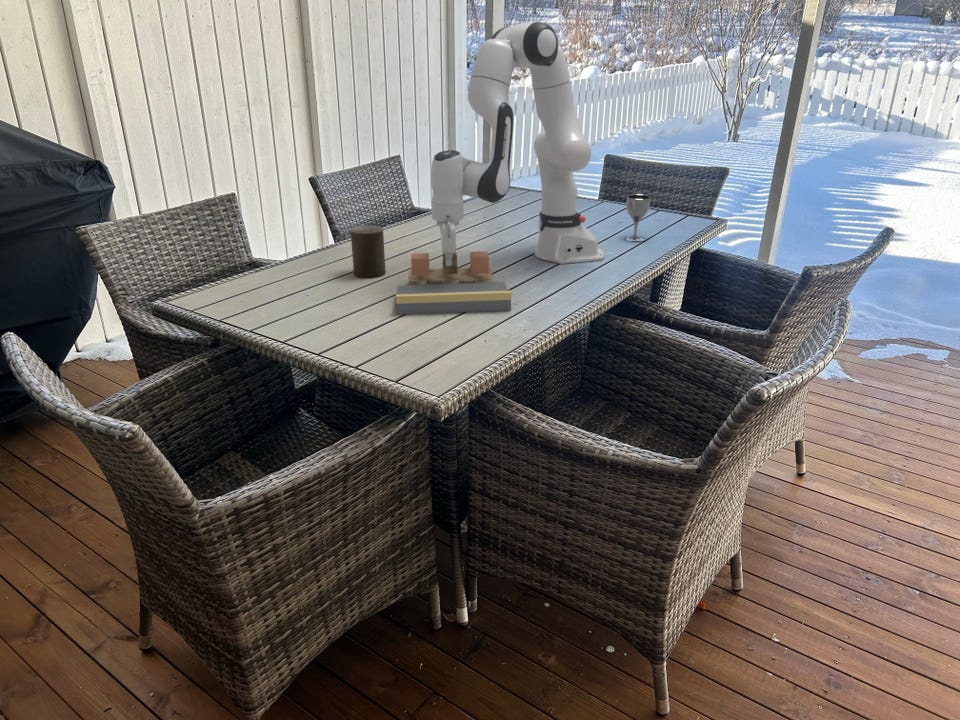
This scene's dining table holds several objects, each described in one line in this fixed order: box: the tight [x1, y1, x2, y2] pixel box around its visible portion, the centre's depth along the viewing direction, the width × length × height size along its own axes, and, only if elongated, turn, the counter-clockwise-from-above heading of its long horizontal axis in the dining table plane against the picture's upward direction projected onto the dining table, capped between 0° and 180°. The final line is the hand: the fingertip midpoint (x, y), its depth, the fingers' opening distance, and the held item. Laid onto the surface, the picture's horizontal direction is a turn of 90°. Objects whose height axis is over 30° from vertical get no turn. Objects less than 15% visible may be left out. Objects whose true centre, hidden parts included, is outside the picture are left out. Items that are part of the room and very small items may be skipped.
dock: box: [395, 281, 512, 315], centre depth 183 cm, size 30×14×5 cm, turn 95°
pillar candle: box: [350, 225, 386, 279], centre depth 203 cm, size 10×10×15 cm
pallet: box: [407, 252, 493, 285], centre depth 195 cm, size 24×6×9 cm, turn 95°
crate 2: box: [469, 250, 490, 274], centre depth 194 cm, size 5×5×5 cm
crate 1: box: [410, 252, 430, 276], centre depth 193 cm, size 5×5×5 cm
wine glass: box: [626, 193, 652, 240], centre depth 235 cm, size 8×8×15 cm
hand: (448, 260), depth 193 cm, fingers open, 8 cm apart
